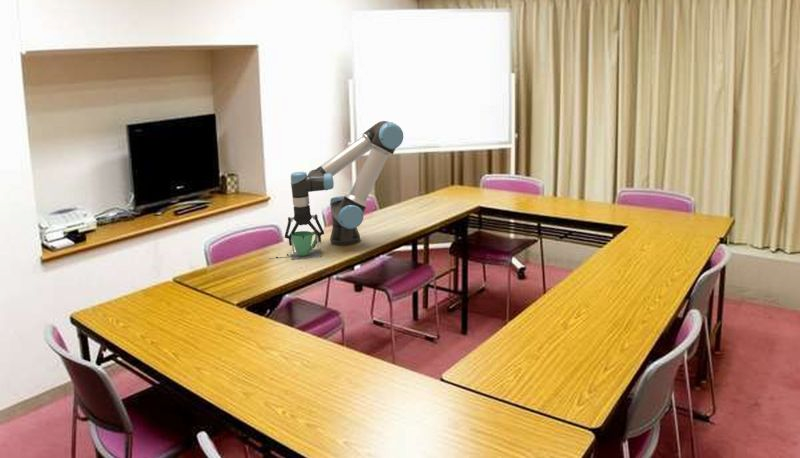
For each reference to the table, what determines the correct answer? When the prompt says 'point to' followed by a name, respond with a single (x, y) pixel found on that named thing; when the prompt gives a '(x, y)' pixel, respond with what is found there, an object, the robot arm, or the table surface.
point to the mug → (303, 242)
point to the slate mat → (311, 254)
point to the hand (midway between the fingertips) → (306, 250)
